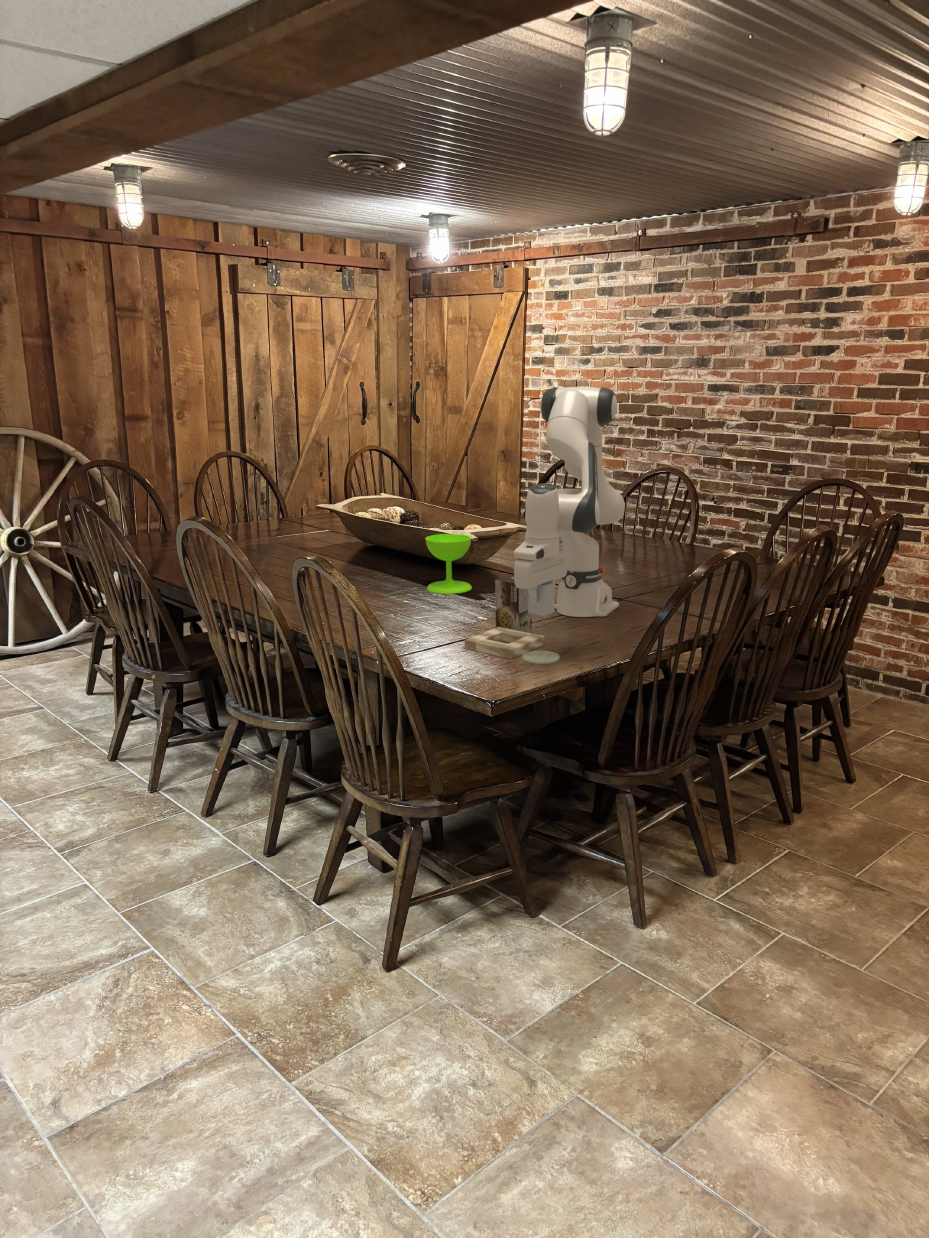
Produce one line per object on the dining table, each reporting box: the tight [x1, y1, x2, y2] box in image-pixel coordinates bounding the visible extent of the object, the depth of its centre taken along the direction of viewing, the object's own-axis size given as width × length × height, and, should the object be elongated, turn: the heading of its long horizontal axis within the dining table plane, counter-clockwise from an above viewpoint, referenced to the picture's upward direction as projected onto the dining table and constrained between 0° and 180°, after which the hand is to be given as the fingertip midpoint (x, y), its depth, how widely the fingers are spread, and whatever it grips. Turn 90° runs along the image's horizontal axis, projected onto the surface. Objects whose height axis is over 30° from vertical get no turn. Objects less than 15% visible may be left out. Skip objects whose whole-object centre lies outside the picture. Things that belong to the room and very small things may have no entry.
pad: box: [521, 650, 560, 665], centre depth 245 cm, size 10×10×1 cm
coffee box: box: [494, 575, 533, 634], centre depth 267 cm, size 9×6×16 cm
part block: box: [528, 581, 556, 617], centre depth 241 cm, size 5×5×8 cm
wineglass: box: [425, 533, 473, 595], centre depth 321 cm, size 16×16×18 cm
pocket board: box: [464, 627, 545, 660], centre depth 256 cm, size 16×16×2 cm
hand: (541, 599), depth 241 cm, fingers closed on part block, 5 cm apart
